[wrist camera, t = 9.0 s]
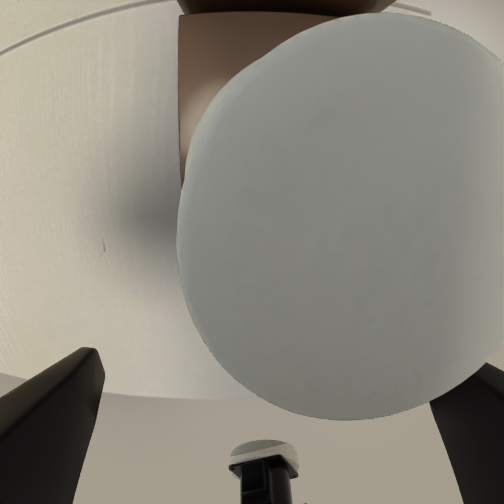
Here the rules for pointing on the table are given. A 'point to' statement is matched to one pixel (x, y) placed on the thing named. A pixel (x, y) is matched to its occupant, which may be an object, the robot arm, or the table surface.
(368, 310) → the pill bottle
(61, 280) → the table surface
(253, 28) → the step shelf
